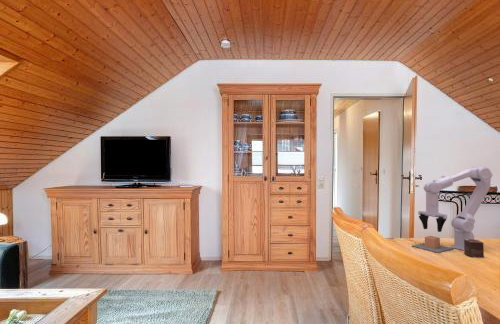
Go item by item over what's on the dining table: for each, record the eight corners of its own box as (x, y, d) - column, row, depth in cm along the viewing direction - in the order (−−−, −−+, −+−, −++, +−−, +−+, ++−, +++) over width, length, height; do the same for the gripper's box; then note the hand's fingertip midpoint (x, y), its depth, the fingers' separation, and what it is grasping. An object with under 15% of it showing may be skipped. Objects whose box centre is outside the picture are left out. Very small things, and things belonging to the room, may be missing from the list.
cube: (430, 245, 170) (430, 235, 171) (439, 247, 166) (439, 237, 166) (424, 246, 168) (424, 236, 168) (433, 248, 164) (433, 238, 164)
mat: (427, 243, 177) (427, 242, 177) (453, 249, 164) (453, 248, 164) (411, 246, 170) (411, 245, 170) (437, 253, 158) (437, 251, 158)
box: (484, 258, 150) (484, 242, 150) (469, 257, 151) (469, 241, 151) (477, 254, 155) (477, 239, 156) (463, 253, 157) (463, 238, 157)
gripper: (414, 203, 172) (414, 228, 172) (441, 206, 159) (441, 233, 159) (422, 202, 175) (422, 227, 175) (449, 205, 162) (449, 232, 162)
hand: (432, 230), depth 167 cm, fingers open, 7 cm apart
